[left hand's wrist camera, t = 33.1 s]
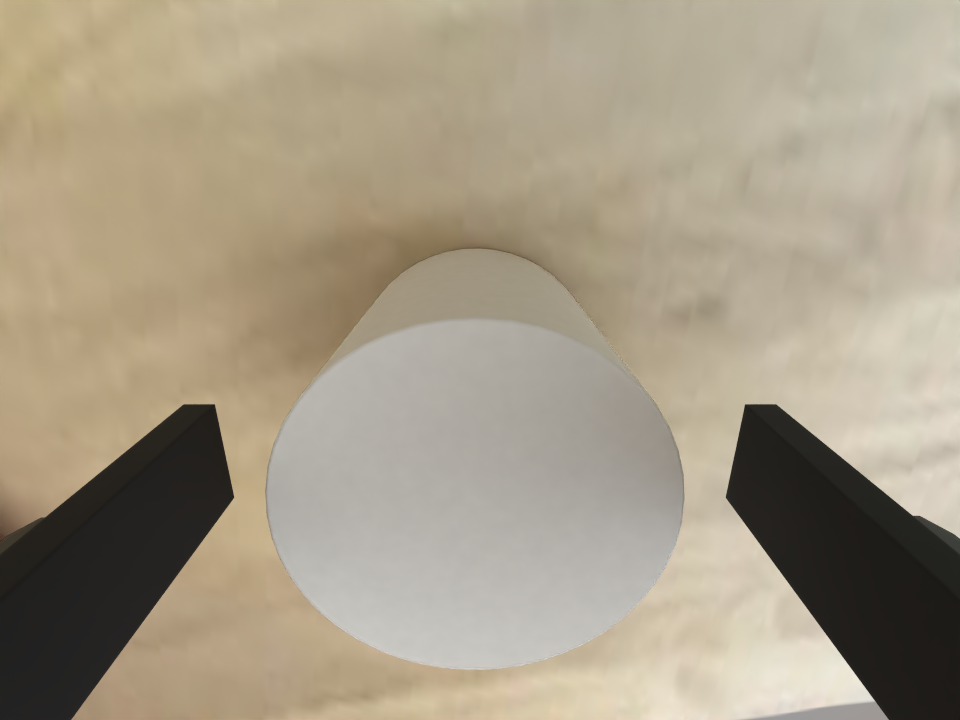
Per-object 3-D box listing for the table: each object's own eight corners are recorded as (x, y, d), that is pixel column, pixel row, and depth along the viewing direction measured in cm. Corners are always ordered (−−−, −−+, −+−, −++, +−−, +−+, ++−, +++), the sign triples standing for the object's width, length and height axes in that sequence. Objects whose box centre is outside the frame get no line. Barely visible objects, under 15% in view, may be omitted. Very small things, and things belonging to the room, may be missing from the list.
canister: (595, 455, 21) (679, 655, 12) (381, 476, 22) (315, 685, 13) (588, 234, 18) (693, 292, 9) (337, 262, 18) (211, 344, 10)
